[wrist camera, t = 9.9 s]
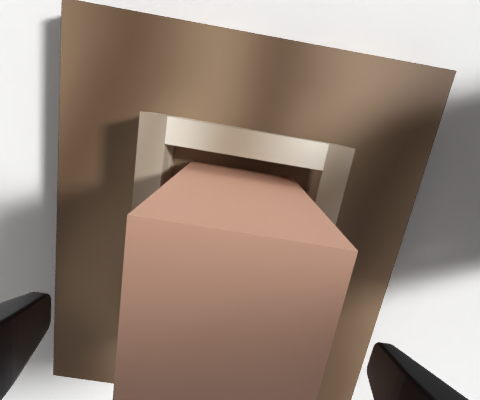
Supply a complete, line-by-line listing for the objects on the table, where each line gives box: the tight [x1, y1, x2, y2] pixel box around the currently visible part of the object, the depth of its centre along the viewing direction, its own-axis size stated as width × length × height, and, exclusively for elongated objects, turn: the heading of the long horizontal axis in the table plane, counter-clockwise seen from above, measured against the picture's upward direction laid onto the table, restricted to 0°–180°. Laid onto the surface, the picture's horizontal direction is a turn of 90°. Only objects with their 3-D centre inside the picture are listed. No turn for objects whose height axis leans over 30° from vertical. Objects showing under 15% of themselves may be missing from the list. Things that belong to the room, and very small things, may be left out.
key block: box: [113, 161, 358, 400], centre depth 11 cm, size 7×4×8 cm, turn 171°
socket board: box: [53, 0, 456, 400], centre depth 14 cm, size 16×18×4 cm
